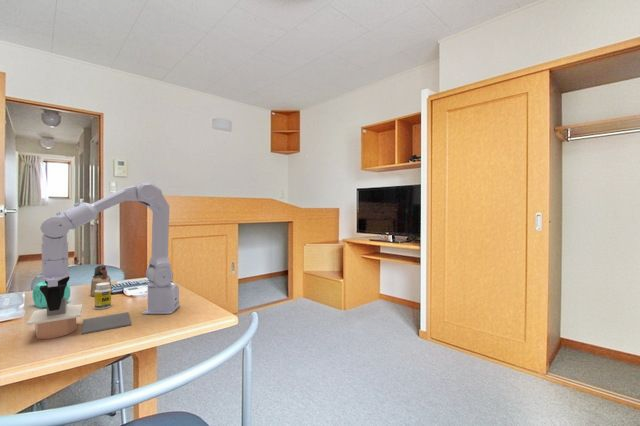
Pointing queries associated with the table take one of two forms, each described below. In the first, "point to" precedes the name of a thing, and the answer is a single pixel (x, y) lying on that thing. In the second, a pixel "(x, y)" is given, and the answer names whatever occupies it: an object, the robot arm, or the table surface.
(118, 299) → the table surface
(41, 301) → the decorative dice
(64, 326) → the bowl
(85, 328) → the mat
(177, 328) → the table surface
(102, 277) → the figurine
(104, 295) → the supplement bottle
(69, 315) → the lid
